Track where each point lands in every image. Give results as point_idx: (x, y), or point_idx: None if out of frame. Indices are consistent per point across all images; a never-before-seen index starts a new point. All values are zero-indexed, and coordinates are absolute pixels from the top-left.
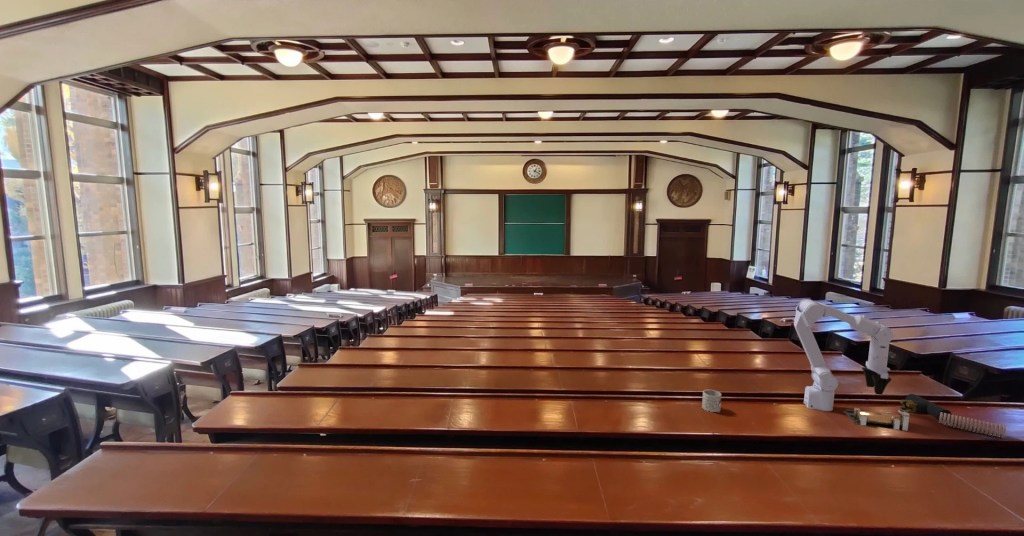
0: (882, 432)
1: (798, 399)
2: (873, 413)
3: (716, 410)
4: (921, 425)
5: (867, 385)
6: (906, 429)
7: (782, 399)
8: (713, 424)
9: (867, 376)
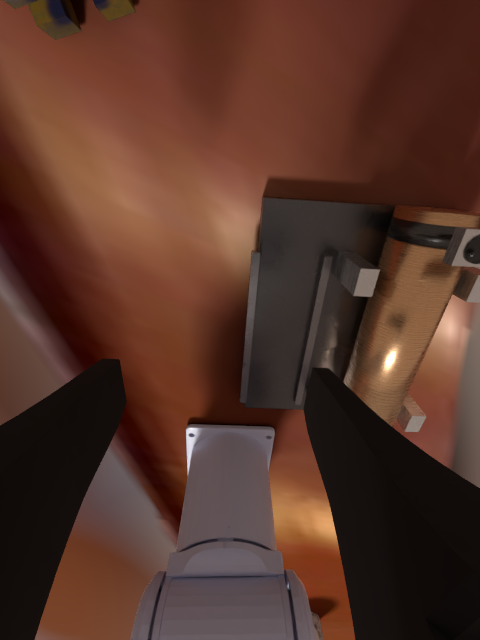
0: None
1: (147, 487)
2: (405, 385)
3: (319, 622)
4: (331, 16)
5: (122, 410)
6: None
7: (171, 521)
8: None
9: (68, 515)
